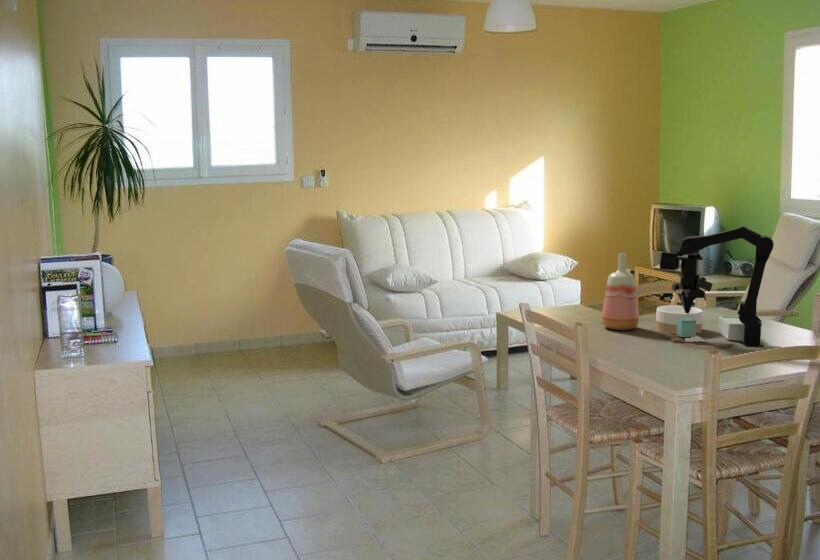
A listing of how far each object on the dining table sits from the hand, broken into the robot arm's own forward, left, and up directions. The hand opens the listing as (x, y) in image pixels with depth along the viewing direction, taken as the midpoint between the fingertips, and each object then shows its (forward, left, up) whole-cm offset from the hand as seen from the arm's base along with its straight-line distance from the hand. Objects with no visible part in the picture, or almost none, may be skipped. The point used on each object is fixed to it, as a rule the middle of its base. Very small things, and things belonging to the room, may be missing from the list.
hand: (687, 313), depth 326 cm
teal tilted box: (0, 0, -8) cm, 8 cm away
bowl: (+17, -3, -10) cm, 20 cm away
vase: (+21, +19, -10) cm, 30 cm away
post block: (0, 0, -10) cm, 10 cm away
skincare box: (+12, -21, -7) cm, 25 cm away
